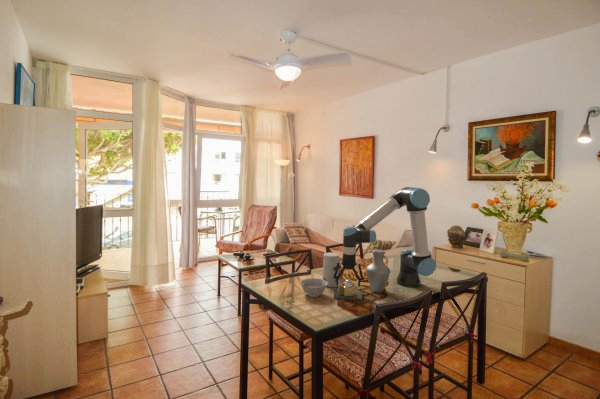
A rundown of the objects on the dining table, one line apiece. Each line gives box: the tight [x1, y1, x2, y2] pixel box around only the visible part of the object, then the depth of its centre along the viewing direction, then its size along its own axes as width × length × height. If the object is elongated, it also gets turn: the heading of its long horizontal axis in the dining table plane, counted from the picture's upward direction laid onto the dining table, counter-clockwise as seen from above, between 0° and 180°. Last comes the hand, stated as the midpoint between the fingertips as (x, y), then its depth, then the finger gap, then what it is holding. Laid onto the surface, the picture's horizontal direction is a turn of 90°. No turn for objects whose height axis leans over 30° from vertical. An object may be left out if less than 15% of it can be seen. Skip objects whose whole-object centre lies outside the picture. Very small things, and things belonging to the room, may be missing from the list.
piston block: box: [333, 278, 363, 302], centre depth 193 cm, size 16×12×10 cm
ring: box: [339, 281, 357, 296], centre depth 193 cm, size 10×10×5 cm
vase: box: [365, 248, 391, 293], centre depth 202 cm, size 14×14×25 cm
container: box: [322, 252, 340, 288], centre depth 211 cm, size 10×10×20 cm
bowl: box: [299, 277, 328, 298], centre depth 193 cm, size 16×16×8 cm
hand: (348, 290), depth 193 cm, fingers closed on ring, 10 cm apart
